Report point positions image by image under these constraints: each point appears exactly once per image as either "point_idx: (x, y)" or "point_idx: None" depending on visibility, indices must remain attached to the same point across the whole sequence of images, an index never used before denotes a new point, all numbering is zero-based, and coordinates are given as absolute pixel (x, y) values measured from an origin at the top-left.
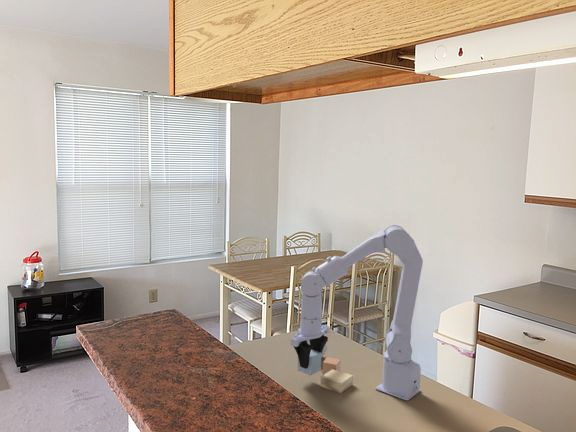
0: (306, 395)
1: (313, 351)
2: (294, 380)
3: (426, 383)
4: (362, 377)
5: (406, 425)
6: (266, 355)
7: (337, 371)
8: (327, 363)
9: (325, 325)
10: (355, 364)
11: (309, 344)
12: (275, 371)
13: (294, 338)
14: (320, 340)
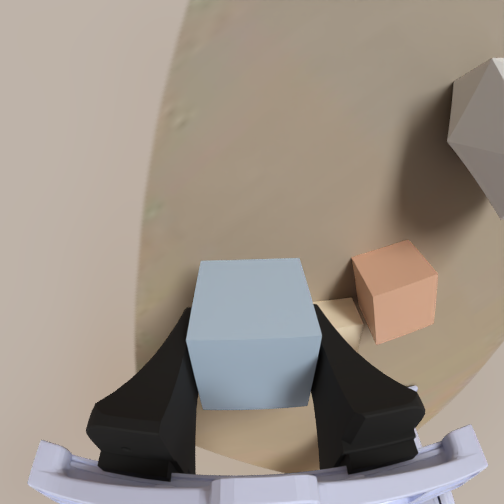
0: (157, 314)
1: (293, 379)
2: (213, 203)
3: (428, 413)
4: (406, 346)
5: (241, 458)
6: None
7: (351, 345)
8: (374, 313)
9: (475, 475)
10: (484, 280)
11: (498, 156)
12: (220, 58)
13: (50, 497)
14: (324, 467)
